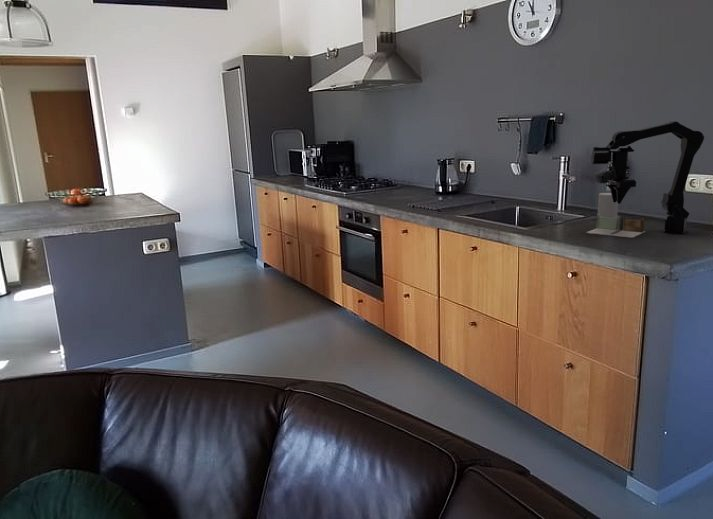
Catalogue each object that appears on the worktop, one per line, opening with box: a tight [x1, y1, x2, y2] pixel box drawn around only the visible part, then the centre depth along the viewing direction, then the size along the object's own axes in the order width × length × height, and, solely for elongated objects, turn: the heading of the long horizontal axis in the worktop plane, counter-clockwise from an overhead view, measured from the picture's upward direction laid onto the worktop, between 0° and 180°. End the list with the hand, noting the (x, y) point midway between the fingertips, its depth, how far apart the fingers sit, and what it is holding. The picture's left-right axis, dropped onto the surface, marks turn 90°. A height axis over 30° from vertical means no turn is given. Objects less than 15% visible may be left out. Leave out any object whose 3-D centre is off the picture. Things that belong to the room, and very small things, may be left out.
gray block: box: [597, 192, 619, 218], centre depth 248 cm, size 8×8×12 cm
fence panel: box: [595, 213, 621, 230], centre depth 228 cm, size 9×1×6 cm, turn 45°
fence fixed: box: [619, 216, 645, 232], centre depth 221 cm, size 9×1×6 cm, turn 45°
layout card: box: [585, 227, 646, 239], centre depth 222 cm, size 18×14×1 cm
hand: (616, 202), depth 220 cm, fingers open, 4 cm apart
